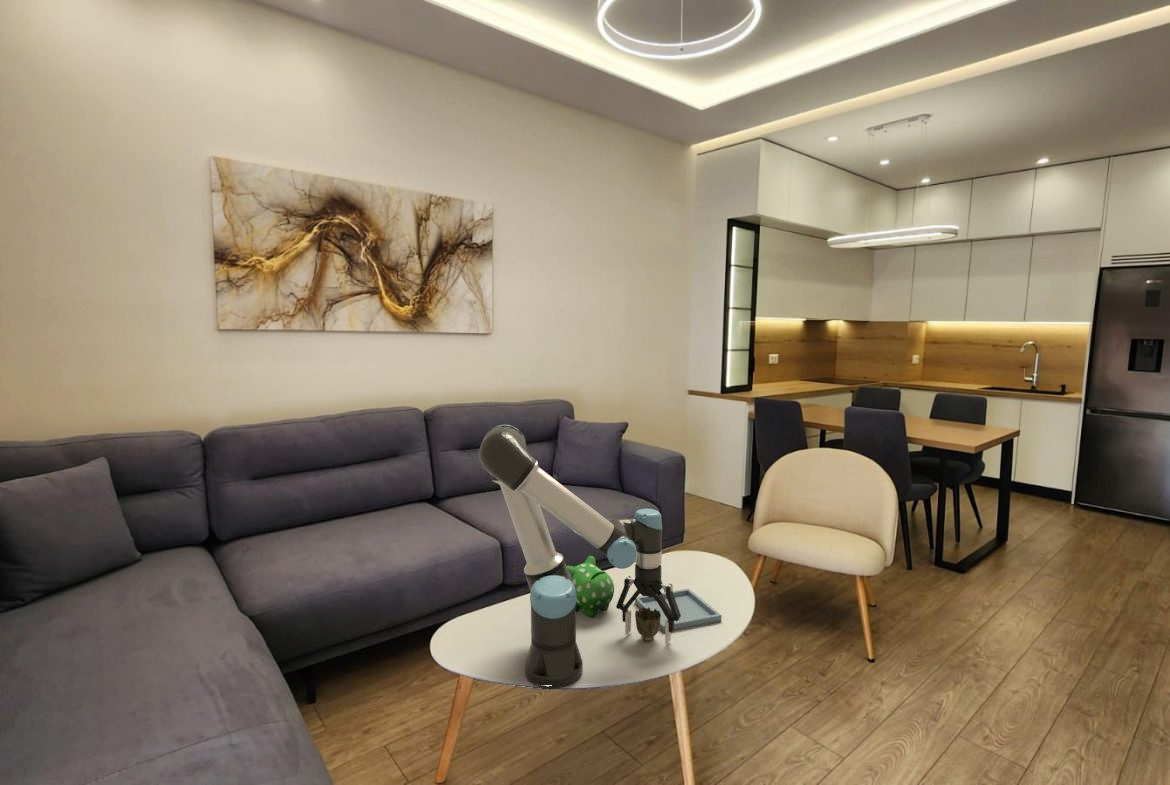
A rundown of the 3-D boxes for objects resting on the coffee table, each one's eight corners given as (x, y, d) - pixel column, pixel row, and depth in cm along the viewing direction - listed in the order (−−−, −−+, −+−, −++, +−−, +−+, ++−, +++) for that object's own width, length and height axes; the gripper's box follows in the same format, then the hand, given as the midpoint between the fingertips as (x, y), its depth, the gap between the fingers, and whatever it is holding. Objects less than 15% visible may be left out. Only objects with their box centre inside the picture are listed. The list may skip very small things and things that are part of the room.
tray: (663, 632, 170) (663, 626, 170) (634, 603, 189) (634, 597, 188) (721, 621, 177) (721, 615, 176) (688, 594, 195) (688, 588, 195)
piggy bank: (580, 593, 196) (580, 550, 195) (622, 609, 185) (622, 564, 183) (551, 607, 186) (550, 563, 184) (594, 626, 174) (594, 578, 173)
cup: (630, 642, 165) (630, 615, 164) (640, 630, 171) (640, 604, 170) (655, 648, 161) (655, 621, 160) (664, 636, 168) (664, 610, 167)
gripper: (692, 566, 162) (691, 640, 164) (614, 553, 172) (614, 622, 174) (685, 576, 155) (684, 652, 158) (604, 561, 166) (604, 634, 168)
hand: (647, 637), depth 166 cm, fingers open, 11 cm apart
